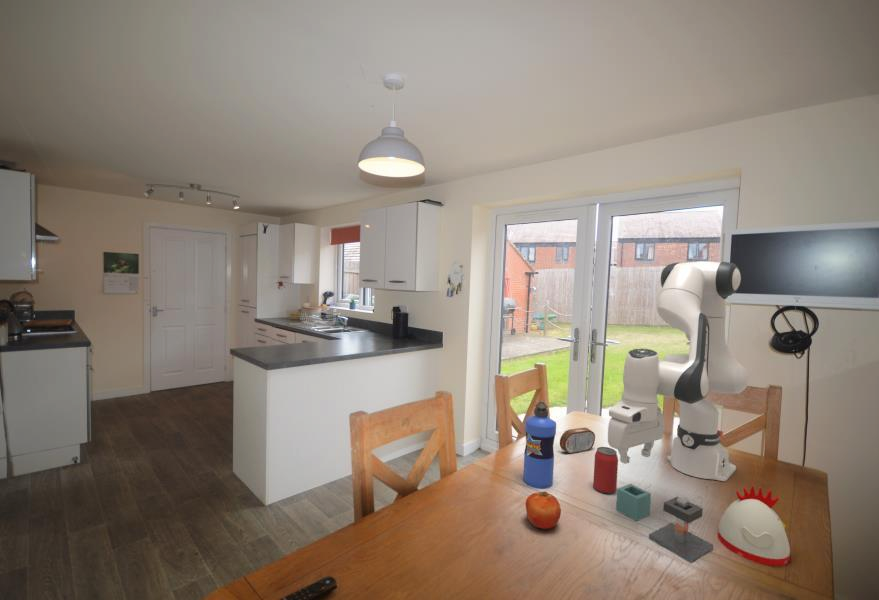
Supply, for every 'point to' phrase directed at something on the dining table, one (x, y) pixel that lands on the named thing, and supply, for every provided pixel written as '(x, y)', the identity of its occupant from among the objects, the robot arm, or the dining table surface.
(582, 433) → the tin
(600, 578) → the dining table surface
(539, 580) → the dining table surface
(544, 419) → the water bottle
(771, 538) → the kitchen timer
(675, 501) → the ring
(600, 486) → the beer can
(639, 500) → the sleeve
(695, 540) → the pipe stand
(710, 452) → the robot arm
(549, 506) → the tomato
